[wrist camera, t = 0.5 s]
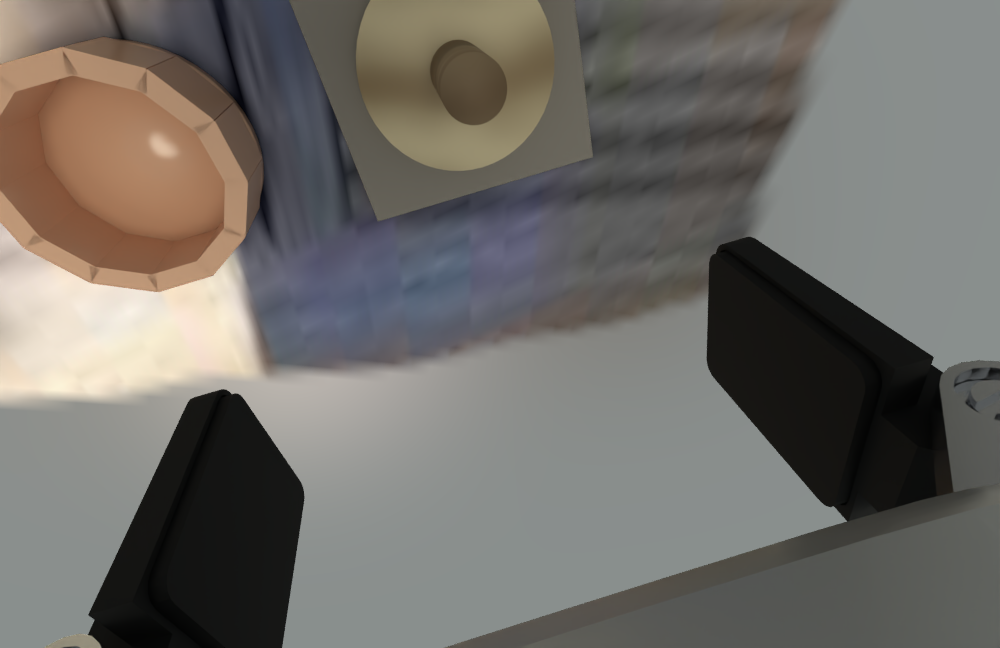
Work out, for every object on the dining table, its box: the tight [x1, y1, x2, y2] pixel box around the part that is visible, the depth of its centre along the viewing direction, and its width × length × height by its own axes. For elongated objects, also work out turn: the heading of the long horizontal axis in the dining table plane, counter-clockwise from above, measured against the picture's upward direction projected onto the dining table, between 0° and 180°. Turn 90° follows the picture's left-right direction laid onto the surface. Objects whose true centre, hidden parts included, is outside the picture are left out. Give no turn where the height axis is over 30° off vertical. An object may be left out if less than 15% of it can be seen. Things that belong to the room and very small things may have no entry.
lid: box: [356, 0, 555, 171], centre depth 25 cm, size 10×10×6 cm
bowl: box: [0, 37, 264, 292], centre depth 26 cm, size 11×11×5 cm
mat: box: [289, 0, 593, 221], centre depth 28 cm, size 14×14×1 cm
